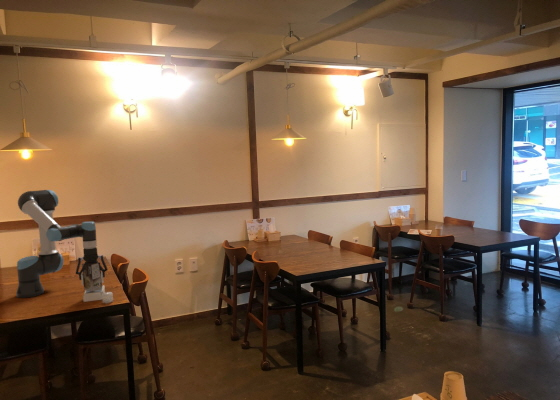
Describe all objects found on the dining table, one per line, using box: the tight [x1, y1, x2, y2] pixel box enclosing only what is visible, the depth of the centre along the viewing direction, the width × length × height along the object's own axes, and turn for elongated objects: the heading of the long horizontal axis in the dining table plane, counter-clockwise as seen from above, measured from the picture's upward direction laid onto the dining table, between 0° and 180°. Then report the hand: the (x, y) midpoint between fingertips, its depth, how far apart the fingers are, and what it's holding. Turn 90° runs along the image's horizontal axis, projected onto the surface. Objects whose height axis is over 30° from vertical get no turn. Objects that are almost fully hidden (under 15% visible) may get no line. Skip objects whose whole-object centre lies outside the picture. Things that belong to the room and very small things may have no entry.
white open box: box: [82, 284, 106, 303], centre depth 260 cm, size 11×14×5 cm
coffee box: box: [81, 261, 103, 291], centre depth 259 cm, size 9×6×16 cm
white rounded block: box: [101, 291, 114, 304], centre depth 251 cm, size 6×6×5 cm
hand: (92, 283), depth 260 cm, fingers closed on coffee box, 10 cm apart
